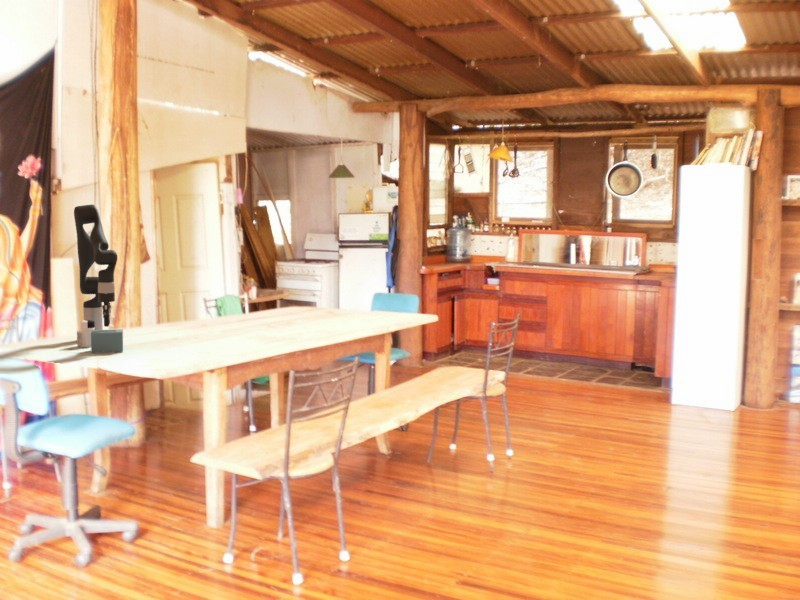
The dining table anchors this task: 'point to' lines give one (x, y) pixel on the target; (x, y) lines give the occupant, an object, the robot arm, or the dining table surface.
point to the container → (85, 333)
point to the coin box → (107, 341)
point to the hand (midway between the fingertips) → (107, 325)
